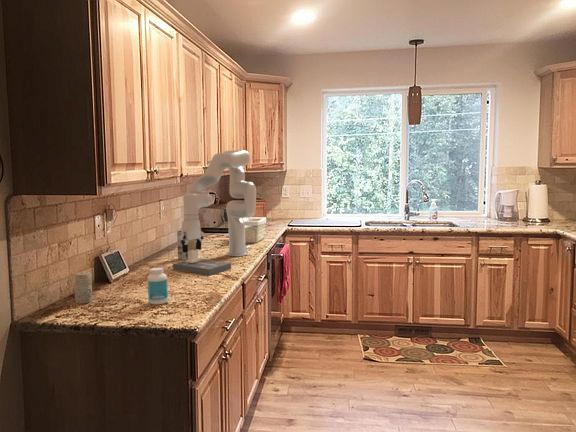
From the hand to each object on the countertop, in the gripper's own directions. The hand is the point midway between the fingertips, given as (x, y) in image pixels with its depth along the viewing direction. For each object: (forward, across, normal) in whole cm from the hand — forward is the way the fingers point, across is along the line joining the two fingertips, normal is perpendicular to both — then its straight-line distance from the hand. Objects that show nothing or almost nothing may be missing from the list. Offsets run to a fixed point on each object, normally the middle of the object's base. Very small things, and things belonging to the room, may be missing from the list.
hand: (192, 250), depth 249 cm
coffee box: (+9, -17, -20) cm, 28 cm away
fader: (+6, -1, 0) cm, 6 cm away
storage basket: (+7, -82, -25) cm, 86 cm away
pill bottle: (+10, +50, +31) cm, 60 cm away
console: (+9, -1, +6) cm, 11 cm away
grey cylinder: (+11, +65, +5) cm, 66 cm away
